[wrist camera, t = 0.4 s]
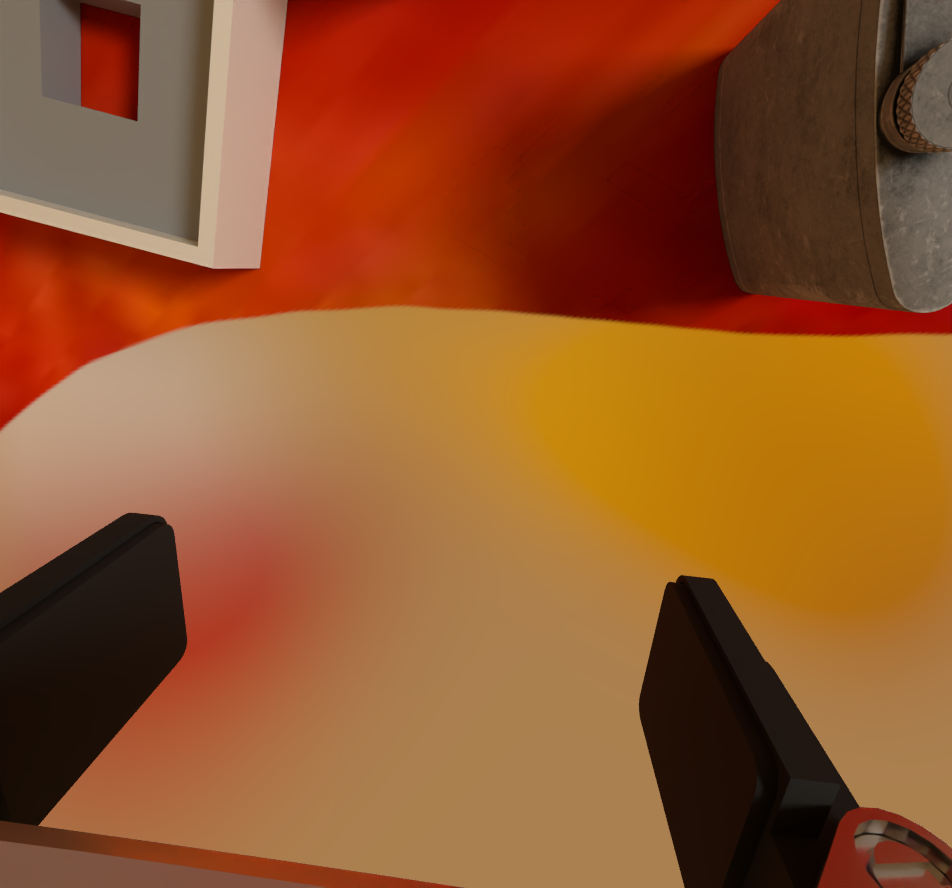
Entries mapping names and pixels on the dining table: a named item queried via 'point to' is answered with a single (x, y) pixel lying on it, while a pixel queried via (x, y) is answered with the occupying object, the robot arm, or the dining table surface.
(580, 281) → the dining table surface
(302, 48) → the dining table surface
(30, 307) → the dining table surface
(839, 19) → the flask
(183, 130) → the open top box
